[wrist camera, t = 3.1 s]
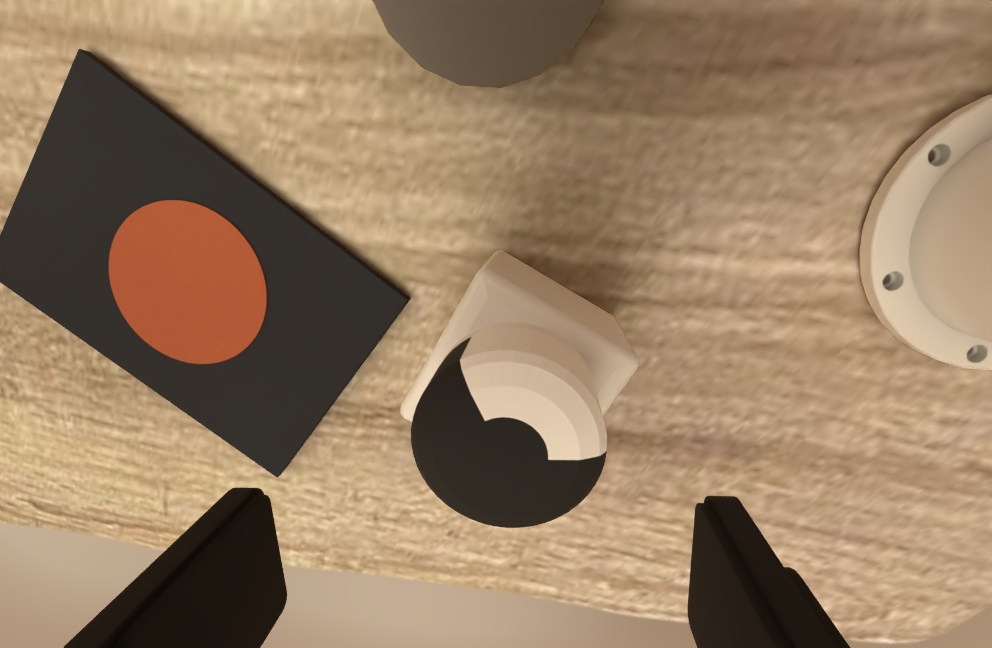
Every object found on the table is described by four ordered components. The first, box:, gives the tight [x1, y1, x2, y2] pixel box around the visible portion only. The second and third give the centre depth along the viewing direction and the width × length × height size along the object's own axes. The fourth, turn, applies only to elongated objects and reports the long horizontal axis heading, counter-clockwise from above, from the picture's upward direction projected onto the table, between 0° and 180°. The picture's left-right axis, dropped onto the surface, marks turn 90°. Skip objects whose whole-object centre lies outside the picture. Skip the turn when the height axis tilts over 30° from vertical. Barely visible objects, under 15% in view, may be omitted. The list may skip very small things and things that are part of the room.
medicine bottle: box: [400, 250, 639, 528], centre depth 20 cm, size 7×7×12 cm
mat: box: [0, 49, 410, 477], centre depth 26 cm, size 20×14×1 cm
